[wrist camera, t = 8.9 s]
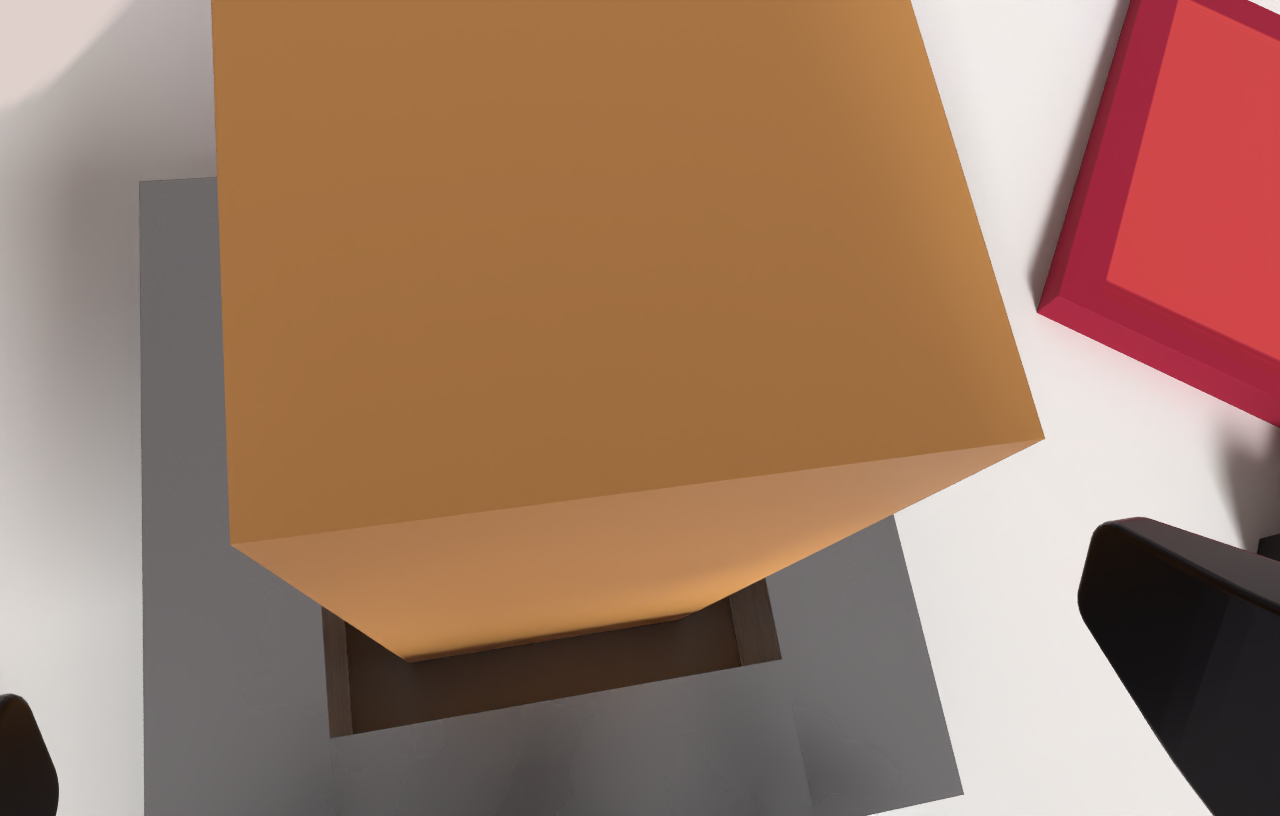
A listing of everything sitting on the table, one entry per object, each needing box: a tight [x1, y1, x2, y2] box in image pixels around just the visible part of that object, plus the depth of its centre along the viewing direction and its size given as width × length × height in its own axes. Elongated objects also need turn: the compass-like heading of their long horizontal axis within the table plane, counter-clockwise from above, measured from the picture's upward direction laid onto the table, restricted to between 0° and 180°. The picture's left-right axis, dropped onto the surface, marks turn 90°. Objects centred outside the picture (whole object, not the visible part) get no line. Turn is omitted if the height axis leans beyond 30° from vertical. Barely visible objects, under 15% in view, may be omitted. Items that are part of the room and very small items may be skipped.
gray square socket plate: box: [139, 177, 964, 816], centre depth 16 cm, size 12×12×2 cm
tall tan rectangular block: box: [211, 0, 1045, 663], centre depth 12 cm, size 5×5×12 cm
